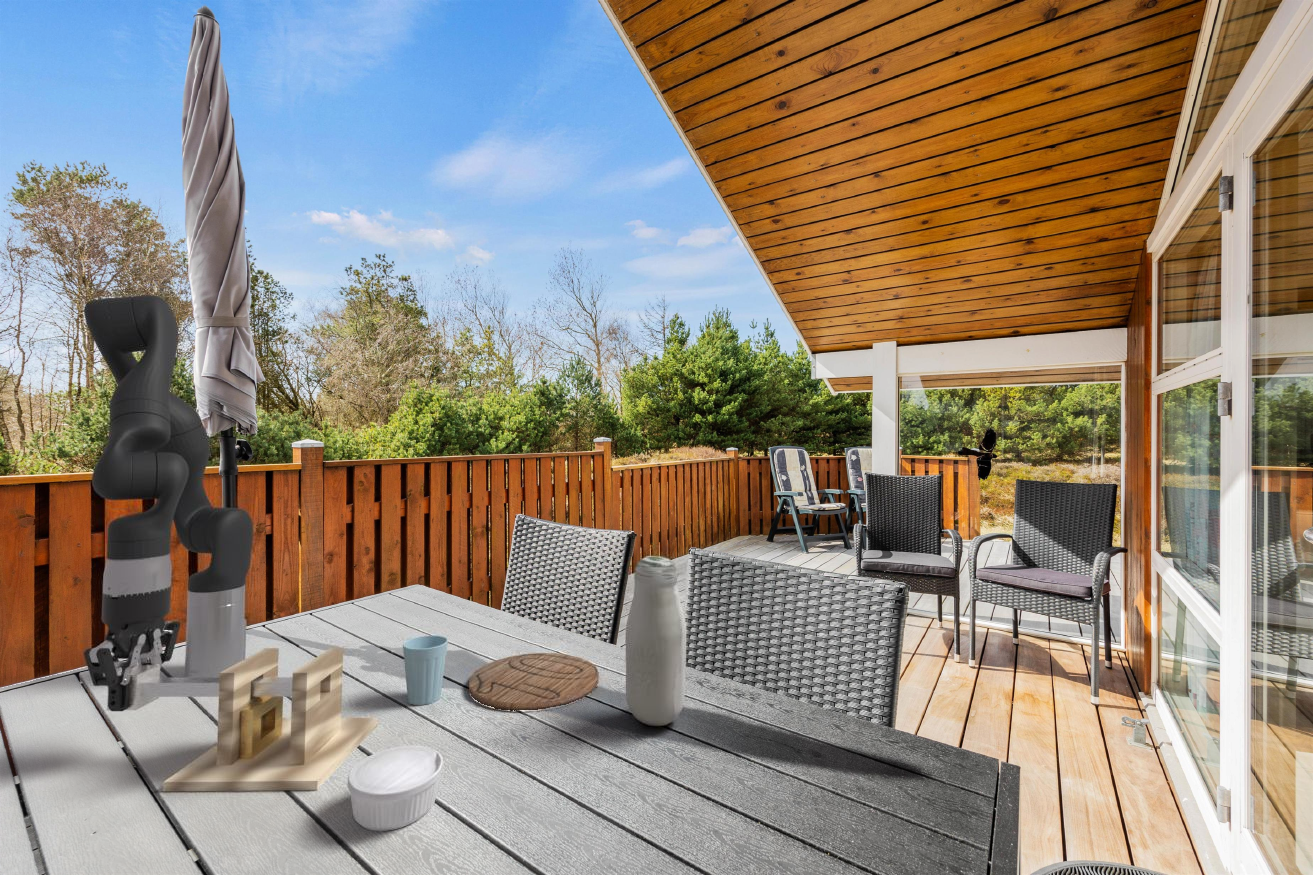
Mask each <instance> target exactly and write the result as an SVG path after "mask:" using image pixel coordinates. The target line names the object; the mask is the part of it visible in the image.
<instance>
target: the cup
mask: <svg viewBox="0 0 1313 875" xmlns="http://www.w3.org/2000/svg"><path fill="white" fill-rule="evenodd" d="M448 643H449V639H448V638H447V637H446V636H442V635H436V634H435V635H431V634H430V635H422V636H416V637H413V638H410V639H409V638H408V640H406V641H404V642H403V643H402V650H403V651H402V652H403V661H404V670H405V671H404V672H405V681H406V682H405V683H406V693H407V702H408V703H409V704H410V705H412V704H413V706H426V705H430V704H433V703H436V702H438V700H440V697H441V694H442V688H443V687H442V686H443V681H444V679H443V678H444V672H445V666H446V658H447V650H448ZM432 702H433V703H432ZM425 704H426V705H425Z"/></svg>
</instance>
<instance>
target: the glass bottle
mask: <svg viewBox="0 0 1313 875" xmlns="http://www.w3.org/2000/svg"><path fill="white" fill-rule="evenodd" d="M633 576H634V586H633V587H634V589H633V596H632V597H633V598H632V600H631V604H630V607H629V608H630V609H629V613H628V616H627V620H626V626H625V637H624V638H625V696H626V701H627V702H626V703H627V705H628V709H629V711H630V712H631V714H632V716H633V717H634V718H635V719H636V720H638V721H639V722H641V723H643V724H645V725H648V726H653V727H661V726H662V727H663V726H666V725H668V724H671V723H673V722H674V721H675V719H677V718H678V716H679V715H680V713H681V711H682V709H683V707H684V702H685V694H686V668H687V665H686V664H687V662H686V661H687V660H686V659H687V625H686V618H685V615H684V614H685V613H684V611H683V607H682V603H681V600H680V592H679V589H678V588H679V587H678V583H677V582H678V570H677V566H676V564H675V562H673V560H671V559H670V558H667V557H664V556H659V555H648V556H647V555H646V556H645V557H643V558H642V559H640V560H639V561H638V562H637V564H636V566H635V570H634V575H633Z"/></svg>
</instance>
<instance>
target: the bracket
mask: <svg viewBox="0 0 1313 875" xmlns="http://www.w3.org/2000/svg"><path fill="white" fill-rule="evenodd" d="M279 650H280V648H279V647H278V648H277V647H276V648H275V647H273V648H271V647H266V648H264V649H262V650H260V651H258V652H257V653H254V654H253V655H250V656H248V657H247V658H245V660H243V661H241V662H239V663H237V664H235V665H234V666H232V667H230V668H228V669H226V670H224V671H222V672H220V679H219V697H218V709H217V710H218V712H217V714H218V715H217V717H218V718H217V738H216V739H217V742H216V744H215V745H214V746H212V747H210V749H208V750H207V751H206V752H204V753H202V754H201V755H199V756H198V757H196V759H194V760H192V762H189V763H188V764H187V765H185V766H184V767H183V768H182V769H180V770H178V771H177V772H175V773H174V774H173V775H171V776H170V777H168V778H167V779H165V781H163V783H162V792H225V791H226V792H228V791H229V792H231V791H232V792H235V791H236V792H238V791H239V792H242V791H244V792H245V791H247V792H249V791H250V792H251V791H255V792H256V791H318V790H319V788H321V787H322V785H323V784H324V783H326V781H327V780H328V779H329V778H330V777H331V776H332V775H333V774H334V773H335V772H336V770H338V769H339V767H340V766H341V765H342V764H344V762H345V761H346V760H347V759H348V758H349V757H350V756H351V754H352V753H354V752H355V750H356V749H357V748H358V747H359V746H360V745H361V744H362V743H363V742H364V740H365V739H367V737H368V736H369V735H370V734H371V733H372V732H373V731H374V730H375V729H376V728H377V727H378V725H379V717H342V706H343V705H342V703H343V674H344V672H343V671H344V670H343V669H344V647H343V648H341V647H337V648H336V647H330V648H328V649H327V650H326V651H324V652H322V653H321V654H319V655H318V656H316V657H315V658H313V659H312V660H310V661H309V662H307V663H306V664H304V665H303V666H301V667H299V668H297V670H295V671H293V672H292V677H293V678H292V696H291V710H290V711H291V713H290V714H291V716H290V717H284V718H283V717H282V735H281V736H280V737H279V738H277V739H276V740H275V741H274V742H272V743H271V744H270V745H269V746H267V747H266V748H265V749H264V750H263V751H261V752H260V753H259V754H258V755H256V756H255V757H254V758H253V759H240V748H241V718H242V709H244V708H245V707H247V706H248V705H250V704H251V703H253V702H254V701H256V700H257V699H259V698H260V697H250V694H251V681H252V680H254V679H255V678H257V677H279ZM264 718H265V714H264V715H263V716H261V731H262V730H263V729H264Z"/></svg>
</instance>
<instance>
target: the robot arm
mask: <svg viewBox="0 0 1313 875" xmlns="http://www.w3.org/2000/svg"><path fill="white" fill-rule="evenodd" d="M83 309H84V310H83V312H84V319H85V323H86V326H87V328H88V331H89V333H90V335H91V337H92V339H93V341H94V343H95V345H96V347H97V349H98V351H99V352H100V354H101V356H102V358H103V360H104V362H105V364H106V365H107V367H108V369H109V370H110V372H111V374H112V376H113V378H114V380H115V381H116V384H117V386H116V388H115V389H114V390H113V393H112V396H111V399H110V402H109V432H108V437H107V438H108V439H107V442H106V444H105V446H104V449H103V451H102V453H101V455H100V456H99V459H98V460H97V463H96V464H95V467H94V468H93V469H94V470H93V472H92V476H91V484H92V488H93V490H94V492H95V493H96V494H97V495H99V496H100V497H101V498H103V499H106V500H110V501H126V500H127V501H129V500H153V499H154V500H156V501H155V503H154V504H153V506H151V508H149V509H148V510H146V511H142V512H140V513H139V512H138V513H136V514H130V515H125V516H121V517H117V518H114V519H112V520H111V521H110V523H109V524H108V528H107V542H106V544H107V545H106V562H105V565H104V566H105V567H104V571H103V580H102V597H101V600H102V601H101V602H102V603H101V605H102V606H101V622H102V623H103V624H105V625H106V627H107V631H106V634H105V637H104V640H103V642H102V643H100V644H99V645H97V646H96V647H87V648H86V649H85V650H84V652H83V657H84V660H85V662H86V663H85V664H86V667H87V670H88V671H89V672H88V673H89V676H90V679H91V682H92V686H94V687H103V686H104V687H105V686H106V687H107V696H108V708H109V709H110V710H109V711H111V712H124V711H127V710H126V709H128V708H129V701H130V683H129V680H130V677H131V673H132V669H133V667H135V666H136V665H160V669H162V667H163V664H164V663H165V662H170V661H171V660H172V657H173V653H174V649H175V646H176V644H177V638H178V635H179V631H180V628H181V622H180V621H179V620H178V621H172V620H170V621H168V620H167V621H166V619H165V617H166V616H168V615H169V614H170V612H171V600H172V598H171V596H172V576H173V575H172V573H173V572H172V571H173V568H172V567H173V566H172V560H171V543H172V542H171V539H172V538H171V537H172V525H173V524H174V528H175V531H176V534H177V536H178V540H179V541H180V544H182V546H183V547H184V548H185V549H186V550H188V551H190V552H192V553H197V554H211V557H210V562H209V566H208V567H207V568H206V569H203V570H200V571H198V572H194V573H193V574H191V575H190V576H189V577H188V580H187V597H186V598H187V601H186V602H187V603H186V605H187V607H186V627H185V628H186V632H185V657H184V658H185V659H184V660H185V661H184V678H194V677H220V672H222V671H224V670H226V669H228V668H230V667H232V666H234V665H235V664H237V663H239V662H241V661H243V660H245V659H246V645H247V644H246V643H247V642H246V641H247V639H246V638H247V619H246V618H245V610H246V609H245V606H246V602H245V601H246V580H247V577H248V576H247V575H248V572H249V570H250V567H251V561H252V560H251V559H252V548H253V540H254V523H253V519H252V516H251V514H250V513H249V512H248V511H247V510H245V509H243V508H238V507H214V506H213V505H212V503H211V502H210V499H209V498H208V495H207V492H206V490H205V487H204V486H205V485H204V475H205V472H206V468H207V465H208V462H209V459H210V454H211V443H210V438H209V436H208V433H207V432H206V429H205V426H204V423H203V421H202V419H201V416H200V415H199V413H198V412H197V411H196V409H194V407H193V406H191V405H190V404H189V403H188V402H186V401H185V400H184V399H182V398H180V397H179V396H178V395H176V394H175V393H173V392H172V391H170V389H171V383H172V378H173V372H174V370H175V368H174V367H175V363H176V357H177V351H178V346H179V328H178V326H179V325H178V322H177V319H176V316H175V314H174V311H173V309H172V308H171V306H170V305H169V303H168V302H167V300H166V299H164V298H162V297H161V296H159V295H153V294H151V295H149V294H148V295H146V294H143V295H134V296H122V297H109V298H100V299H98V298H97V299H93V300H89V301H87V302H86V303H85V305H84V308H83ZM135 352H144V353H143V354H142V356H141V357H140V359H139V360H137V359H136V357H135V355H134V354H133V353H135ZM164 645H165V648H164V652H163V646H164ZM122 659H125V660H126V659H127V660H126V661H121V660H122ZM119 669H121V670H122V672H121V676H118V675H117V673H118V671H119Z"/></svg>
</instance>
